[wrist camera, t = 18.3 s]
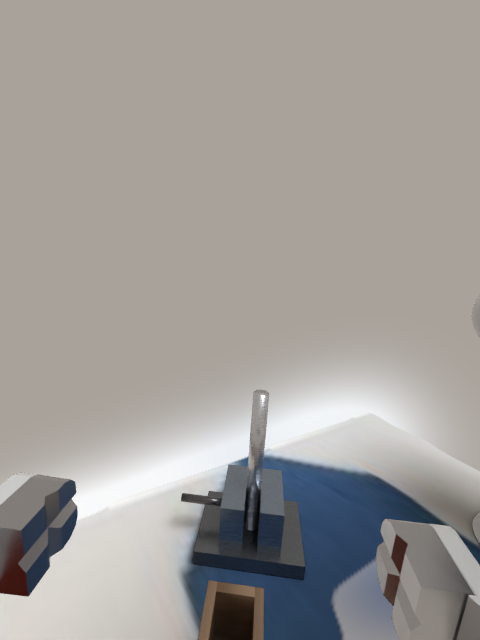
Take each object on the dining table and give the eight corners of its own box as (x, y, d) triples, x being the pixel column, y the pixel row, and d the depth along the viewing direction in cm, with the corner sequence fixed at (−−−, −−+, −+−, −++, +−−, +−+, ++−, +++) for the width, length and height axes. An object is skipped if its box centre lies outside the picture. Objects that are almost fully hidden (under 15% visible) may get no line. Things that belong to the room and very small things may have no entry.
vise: (295, 512, 46) (311, 382, 42) (303, 579, 37) (324, 419, 32) (190, 499, 48) (194, 371, 43) (170, 560, 38) (172, 404, 34)
